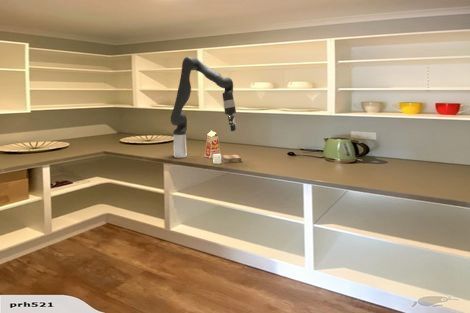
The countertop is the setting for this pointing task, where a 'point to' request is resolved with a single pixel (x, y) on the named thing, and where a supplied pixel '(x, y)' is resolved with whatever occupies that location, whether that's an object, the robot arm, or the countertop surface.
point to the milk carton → (212, 145)
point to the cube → (217, 158)
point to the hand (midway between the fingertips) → (233, 130)
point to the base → (230, 158)
